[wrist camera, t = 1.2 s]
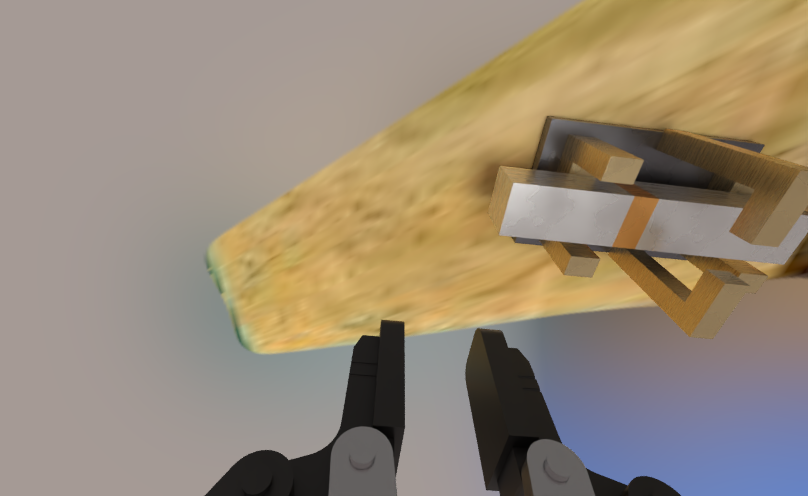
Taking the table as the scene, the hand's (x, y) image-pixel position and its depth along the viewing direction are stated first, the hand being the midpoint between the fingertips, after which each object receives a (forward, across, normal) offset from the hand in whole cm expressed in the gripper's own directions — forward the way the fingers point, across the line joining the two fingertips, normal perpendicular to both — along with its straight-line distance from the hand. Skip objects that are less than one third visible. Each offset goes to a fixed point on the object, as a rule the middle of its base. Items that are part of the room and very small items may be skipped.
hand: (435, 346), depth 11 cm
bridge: (+18, -18, 0) cm, 26 cm away
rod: (+16, -16, 0) cm, 22 cm away
